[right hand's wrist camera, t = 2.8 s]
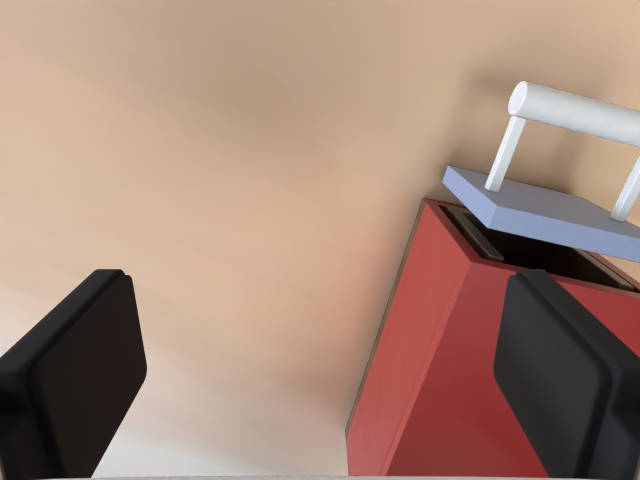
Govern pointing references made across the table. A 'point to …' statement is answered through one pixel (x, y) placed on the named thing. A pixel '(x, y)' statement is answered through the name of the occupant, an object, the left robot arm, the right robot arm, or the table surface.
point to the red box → (454, 362)
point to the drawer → (550, 196)
